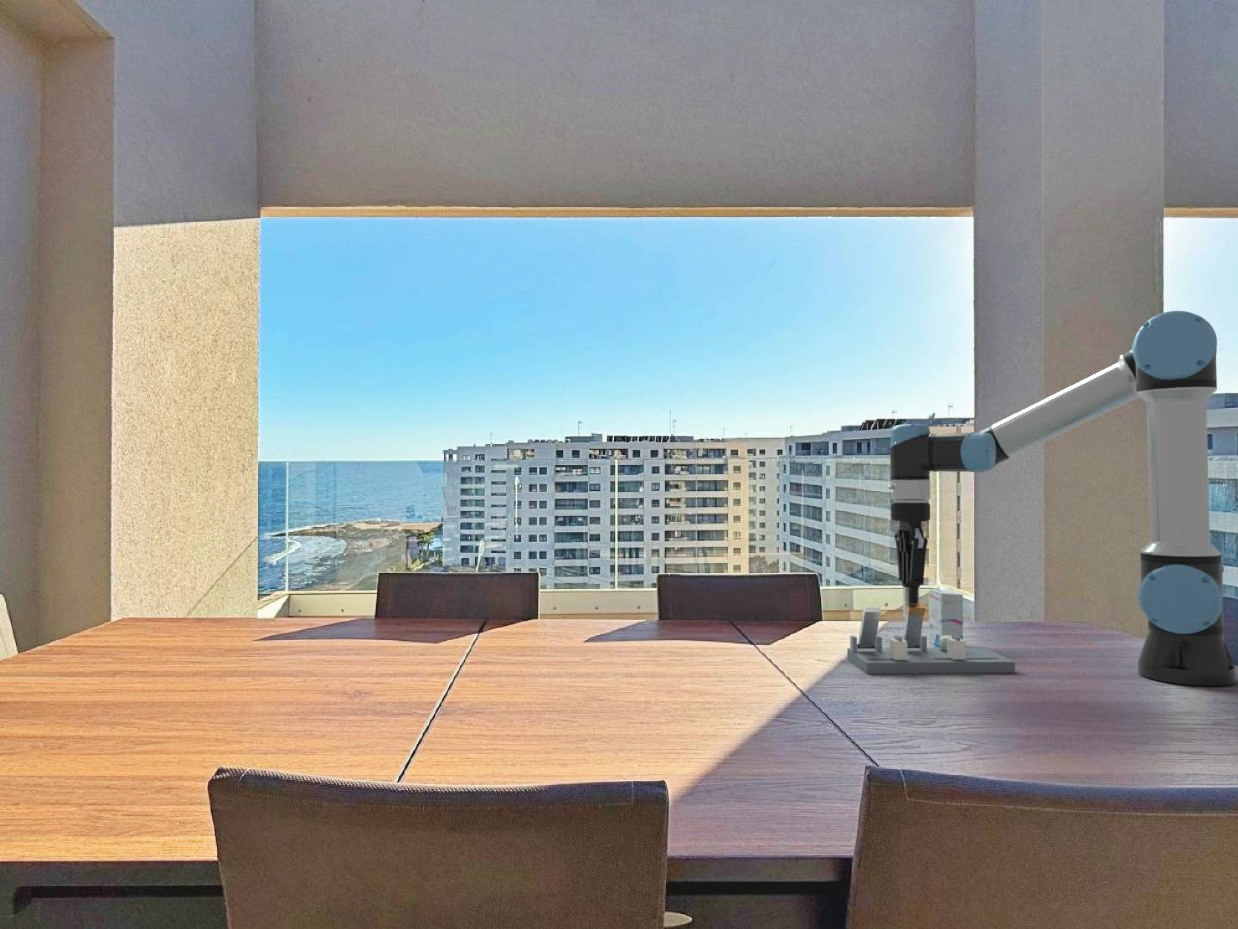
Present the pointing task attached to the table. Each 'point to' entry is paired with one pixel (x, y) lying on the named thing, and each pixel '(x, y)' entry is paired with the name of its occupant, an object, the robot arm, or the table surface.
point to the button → (944, 641)
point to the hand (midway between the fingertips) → (911, 618)
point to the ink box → (945, 614)
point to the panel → (926, 660)
